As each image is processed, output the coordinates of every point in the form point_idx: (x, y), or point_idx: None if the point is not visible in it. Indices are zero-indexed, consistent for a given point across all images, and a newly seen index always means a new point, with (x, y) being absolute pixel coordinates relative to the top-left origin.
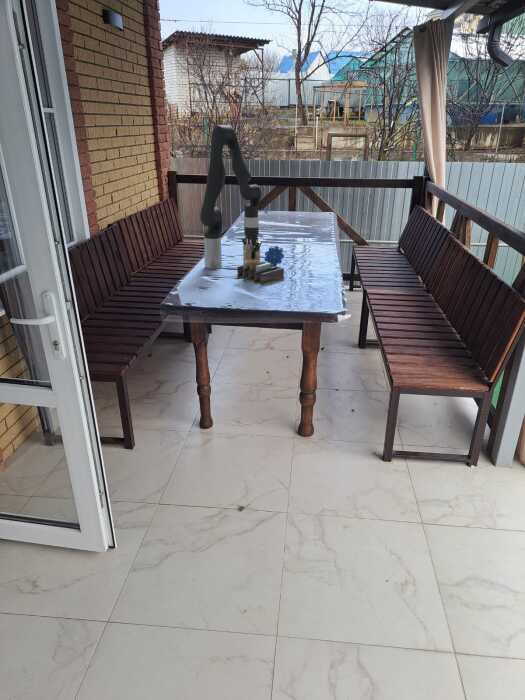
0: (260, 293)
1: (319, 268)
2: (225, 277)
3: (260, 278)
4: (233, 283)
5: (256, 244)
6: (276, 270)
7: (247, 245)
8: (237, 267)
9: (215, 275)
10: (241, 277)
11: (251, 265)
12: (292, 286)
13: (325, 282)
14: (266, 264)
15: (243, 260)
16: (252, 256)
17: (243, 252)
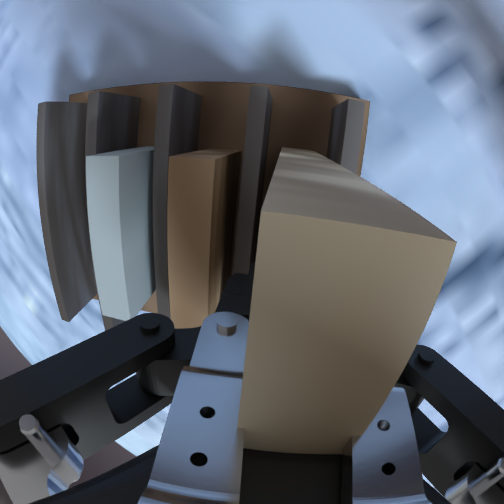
0: (48, 45)
1: (153, 444)
2: (422, 89)
3: (67, 102)
4: (278, 16)
5: (13, 407)
6: (47, 256)
7: (293, 364)
8: (360, 102)
9: (487, 97)
10: (287, 96)
11: (189, 156)
12: (26, 231)
13: (27, 338)
14: (95, 267)
15: (334, 163)
16: (247, 283)
17: (360, 178)
